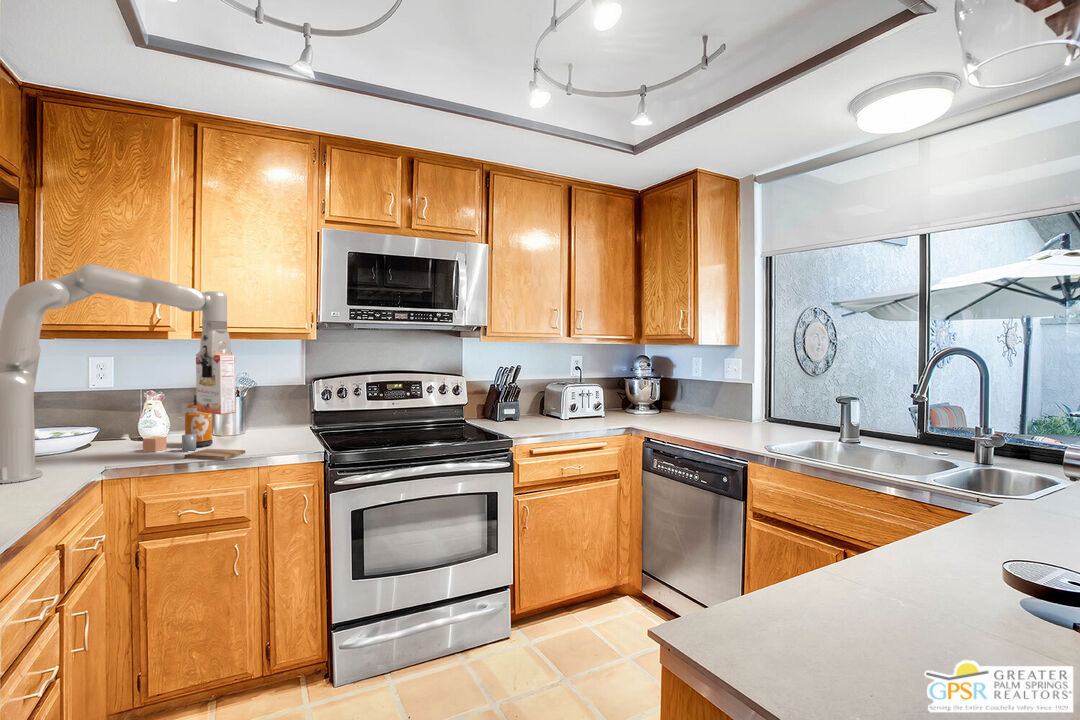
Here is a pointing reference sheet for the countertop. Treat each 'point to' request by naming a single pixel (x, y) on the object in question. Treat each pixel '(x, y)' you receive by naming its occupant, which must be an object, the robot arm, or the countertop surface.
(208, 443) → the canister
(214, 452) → the cutting board
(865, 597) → the countertop surface
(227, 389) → the cracker box
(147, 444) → the terracotta block
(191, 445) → the slate cylinder
